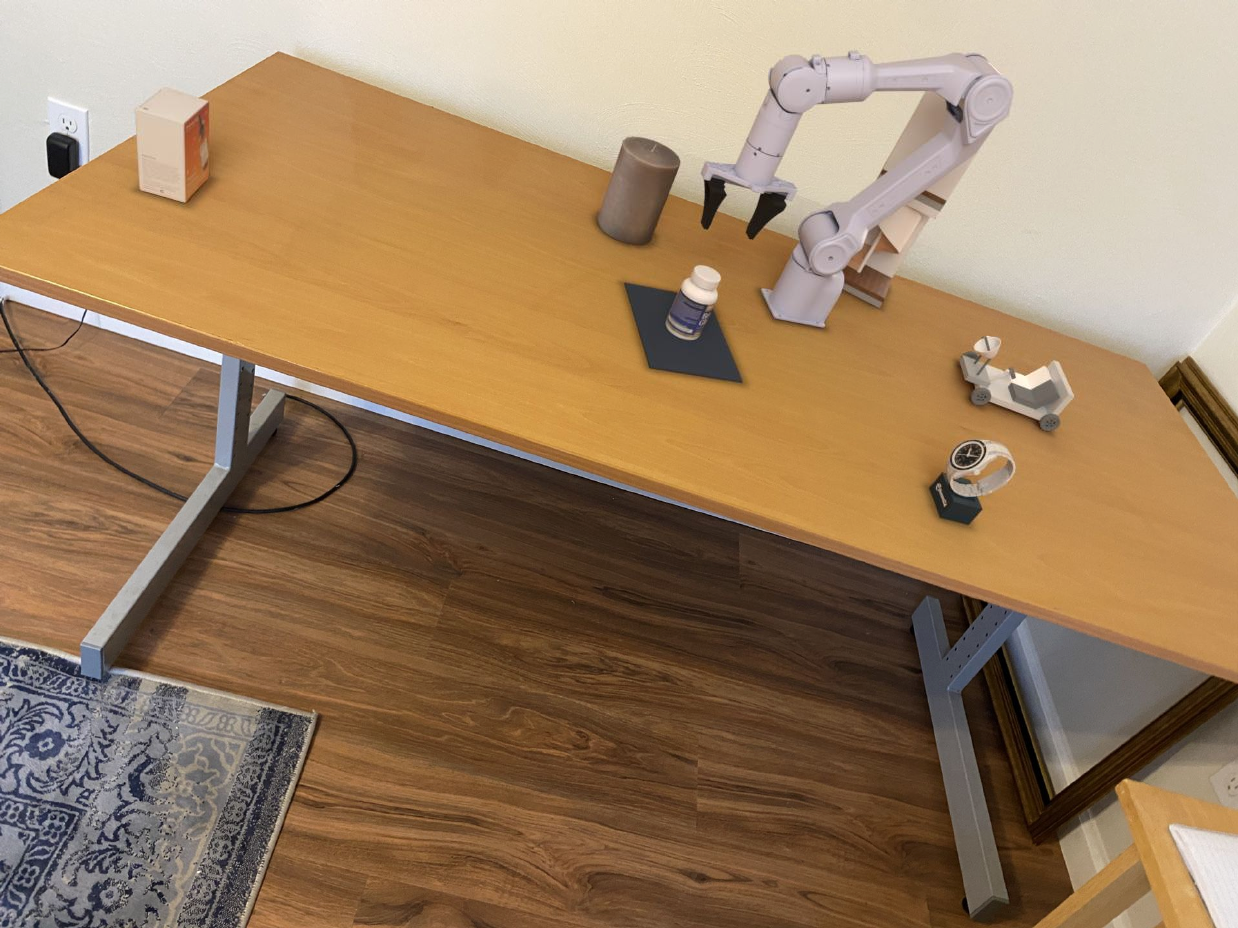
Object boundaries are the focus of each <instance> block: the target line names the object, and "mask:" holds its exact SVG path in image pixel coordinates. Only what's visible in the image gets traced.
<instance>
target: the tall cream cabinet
mask: <svg viewBox="0 0 1238 928" xmlns="http://www.w3.org/2000/svg"><path fill="white" fill-rule="evenodd" d="M945 112H946V102H945V99H944V98H942V97H941V96H939V95H938V94H937V93H935V92H933V91H924V93H923V95H922V97H921V99H920V100H919V102H918V104H917V106H916V108H915V110H914V111H913V113H912V115H911V116H910V117H909V120H908V122H907V123H906V125H905V127H904V129H903V131H902V132H901V134H900V136H899V137H898V139H897V141H896V143H895V145H894V147H893V149H892V150H891V152H890V154H889V156H888V157H887V159H886V161H885V163H884V164H883V167H882V168H881V170H880V172H879V174H878V175H877V177H876V179H875V180H874V182H875V181H876V180H877V179H879V178H880V177H881V176H883V175H884V174H885V173H887V172H888V171H889V170H891V169H892V168H893V167H895V166H896V165H897V164H899V163H900V162H901V161H903V160H904V159H905V158H907V157H908V156H909V155H910V154H912V153H913V152H914V151H916V150H917V149H918V148H920V147H921V146H922V145H924V144H925V143H926V142H928V141H929V140H930V139H932V138H933V137H934V136H936V135H937V134H938V133H940V132H941V131H942V127H943V122H944V117H945ZM979 151H980V149H979V150H978V152H977V153H975V154H974V155H973V156H972V157H970V158H969V159H968V160H966V161H965V162H964V163H962V164H961V165H959V166H958V167H957V168H955V169H954V170H953V171H951V172H950V173H948V174H947V175H946V176H944V177H943V178H941V179H940V180H939V181H937V182H936V183H935V184H933V185H932V186H930V187H929V188H928V189H926V190H925V191H924V192H922V193H921V194H919V195H918V196H917V197H915V198H914V199H912V200H911V201H910V202H908V203H907V204H906V205H904V206H903V207H901V208H900V209H899V210H897V211H896V212H895V213H893V214H892V215H890V216H889V217H888V218H886V219H885V220H883V221H882V222H881V223H879V224H878V225H877V226H875V227H874V228H872V229H871V230H870V231H868V233H867V236H866V239H865V241H864V244H863V247H862V249H861V250H860V251H859V252H857V253H856V254H855V255H854V256H853V257H852V258H851V259H850V261H849V263H848V264H847V266H846V267H845V268H844V269H843V270H842V271H843V274H844V285H843V289H842V291H845V292H847V293H849V294H851V295H853V296H854V297H856V298H859V299H861V300H863V301H864V302H867V303H869V304H871V305H873V306H874V307H876V308H878V309H879V308H880V307H881V306H882V305H883V303H884V301H885V300H886V297H887V294H888V292H889V288H890V285H891V284H892V283H891V282H892V279H893V278H894V276H895V275H896V273H897V271H898V270H899V268H900V266H901V265H902V263H903V262H904V260H905V258H906V257H907V255H908V253H909V252H910V250H911V249H912V247H913V246H914V244H915V242H916V241H917V239H918V237H919V236H920V234H921V233H922V232H923V229H924V228H925V227H926V225H927V224H928V222H929V220H930V219H931V218H932V219H934V220H936V219H937V217H939V216H938V215H939V214H940V212H941V211H942V210H943V208H944V206H945V205H946V203H947V201H948V200H949V199H950V197H951V195H952V194H953V192H954V191H955V189H956V187H957V186H958V184H959V183H960V181H961V179H962V178H963V176H964V174H965V173H966V171H967V170H968V168H969V167H970V165H971V163H972V162H973V161H974V159H975V157H976V156H977V154H978V153H979Z"/></svg>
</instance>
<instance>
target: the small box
mask: <svg viewBox="0 0 1238 928" xmlns="http://www.w3.org/2000/svg"><path fill="white" fill-rule="evenodd" d="M134 118H135V135H136V137H135V138H136V153H137V168H138V171H137V172H138V185H139V191H142V192H145V193H148V194H153V195H157V196H159V197H163V198H167V199H170V200H174V201H177V202H181V203H186V204H187V202H188V201H189V200H190V198H191V197H192V196H193V195H194V194H195V193H196V192H197V190H198V189H200V188H201V186H202V185H203V184H204V183H205V182H207V181H208V180H209V178H210V163H209V162H210V102H209V100H206V99H204V98H200V97H198V96H194V95H191V94H189V93H185V92H182V91H178V90H175V89H173V88H170V87H166V86H162V87H161V88H160V89H159V90H158V91H157V92H156V93H155V94H153V95H152V96H151V97H150V98H149V99H148V100H146V101H145V102H143V103H141V104H140V105H139V106H137V107H136V108H135V109H134Z"/></svg>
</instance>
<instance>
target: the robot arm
mask: <svg viewBox="0 0 1238 928" xmlns="http://www.w3.org/2000/svg"><path fill="white" fill-rule="evenodd" d="M767 80H768V85H769V88H768V89H767V93H766V95H765V97H764V99H763V101H762V104H761V106H760V107H759V110H758V111H757V114H756V116H755V119H754V121H753V123H752V126H751V128H750V130H749V133H748V135H747V137H746V139H745V141H744V144H743V146H742V149H741V150H740V153H739V156H738V158H737V160H736V162H735V163H726V162H725V163H724V162H714V161H709V160H705V161H704V163H703V166H702V167H701V171H700V175H701V177H702V179H703V187H704V189H703V191H704V194H703V195H704V196H703V197H704V198H703V208H702V215H701V219H700V224H701V227H702V228H703V229H704V230H706V231H709V229H710V227H711V225H712V223H713V221H714V218H715V216H716V213H717V211H718V209H719V208H720V206H721V204H722V203H723V202H724V200H726V197H727V196H728V194H727V193H726V191H725V189H726V185H725V184H729V185H731V186H737V187H741V188H745V189H749V190H750V191H751V192H754V193H756V194H759V197H758V201H757V203H756V207H755V209H754V212H753V214H752V216H751V218H750V220H749V222H748V224H747V227H746V230H745V234H746V236H747V238H748V240H751V241H753V240H754V239H755V238H756V236H757V235H759V233H760V232H761V231H762V229H764V227H765V226H766V225H767V224H768V223H769V222H770V221H772V220H773V219H774V218H775V217H777V216H778V215H780V214H782V213H783V212H784V211H785V210H786V208H787V206H788V204H787V202H786V201H789V202H792V201H793V200H794V198H795V196H796V194H797V192H798V188H797V186H796V185H795V184H794V183H793V182H790V181H787V180H784V179H781V178H779V177H778V176H777V177H776V176H775V174H776V172H777V170H778V168H779V167H780V164H781V162H782V160H783V157H784V156H785V153H786V151H787V149H788V147H789V145H790V142H791V140H792V138H793V136H794V134H795V132H796V130H797V128H798V126H799V123H800V120H801V119H802V116H803V114H804V113H806V112H808V111H809V110H811V109H812V108H814V106H817V105H833V104H849V103H863V102H864V101H866V100H867V99H868V98H869V97H870V96H871V95H873V93H874V92H925V91H933V92H935V93H937V94H938V95H939V96H941V97H942V98H944V99H945V102H946V112H945V117H944V122H943V127H942V131H941V132H940V133H938V134H937V135H936V136H934V137H933V138H932V139H930V140H929V141H928V142H926V143H925V144H924V145H922V146H921V147H920V148H918V149H917V150H916V151H914V152H913V153H912V154H910V155H909V156H908V157H907V158H905V159H904V160H903V161H901V162H900V163H899V164H897V165H896V166H895V167H893V168H892V169H891V170H889V171H888V172H887V173H885V174H884V175H883V176H881V177H880V178H879V179H877V178H876V179H877V180H876V179H875V180H876V181H875V180H874V181H873V182H872V183H871V184H869V185H868V186H866V187H865V188H864V189H862V190H861V191H860V192H859V193H857V194H856V195H854V196H853V197H852V198H851V199H849V200H848V201H837V202H832V203H830V204H829V205H827V207H824V208H823V209H820V210H815V211H812V212H811V213H809V214H807V215H805V216H804V217H803V218H802V220H801V221H800V223H799V225H798V229H797V237H798V240H799V241H798V242H797V244H796V246H795V247H794V249H793V251H792V252H791V254H790V256H789V258H788V260H787V262H786V264H785V265H784V268H783V270H782V272H781V273H780V276H779V277H778V279H777V281H776V283H775V285H774V287H773V289H768V288H761V289H760V293H761V295H762V296H763V299H764V301H765V303H766V305H767V306H768V309H769V311H770V313H771V315H772V317H773V318H774V319H775V320H781V321H785V322H790V323H791V322H792V323H797V324H801V325H806V326H812V327H817V328H822V329H824V328H825V327H826V324H825V322H826V320H827V318H828V316H829V315H830V313H831V311H832V310H833V308H834V307H835V304H836V303H837V301H838V300H839V298H840V296H841V294H842V292H843V285H844V274H843V271H842V270H843V269H844V268H845V267H846V266H847V264H848V263H849V261H850V259H851V258H852V257H853V256H854V255H855V254H856V253H857V252H859V251H860V250H861V249H862V247H863V244H864V241H865V239H866V236H867V233H868V231H870V230H871V229H872V228H874V227H875V226H877V225H878V224H879V223H881V222H882V221H883V220H885V219H886V218H888V217H889V216H890V215H892V214H893V213H895V212H896V211H897V210H899V209H900V208H901V207H903V206H904V205H906V204H907V203H908V202H910V201H911V200H912V199H914V198H915V197H917V196H918V195H919V194H921V193H922V192H924V191H925V190H926V189H928V188H929V187H930V186H932V185H933V184H935V183H936V182H937V181H939V180H940V179H941V178H943V177H944V176H946V175H947V174H948V173H950V172H951V171H953V170H954V169H955V168H957V167H958V166H959V165H961V164H962V163H964V162H965V161H966V160H968V159H969V158H970V157H972V156H973V155H974V154H975V153H977V152H978V153H979V151H980V149H981V148H982V146H983V145H984V143H985V141H987V139H988V137H989V136H990V135H991V134H992V132H993V131H994V129H995V128H996V126H998V125H999V124H1001V123H1002V122H1003V121H1005V120H1006V119H1008V118H1009V117H1010V112H1011V107H1012V105H1013V104H1012V103H1013V98H1014V86H1013V83H1012V81H1011V80H1010V79H1009V78H1008V77H1007V76H1005V75H1003V74H1001V72H999V71H998V70H997V69H996V68H995V67H994V66H993V64H991V62H990V61H989V60H988V58H987V57H986V56H985V55H983V54H981V53H978V52H968V53H965V54H964V53H961V52H951V53H948V54H945V55H939V56H932V57H923V58H914V59H907V60H898V61H889V62H880V63H874V62H873V60H871V58H870V57H869V56H867V54H861V53H860V52H859V50H848V52H847V55H840V56H824V57H822V56H821V55H820V54H819V53H818V54H817V53H816V54H812V55H811V58H810V59H809V60H808V59H807V58H806V57H803V55H801V54H788V55H786V56H783V58H781V59H779V60H778V61H777V62H776V63H775V65H774V66H772V67H770V68H769V71H768V75H767ZM978 150H979V151H978ZM978 153H977V154H978Z"/></svg>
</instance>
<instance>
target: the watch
mask: <svg viewBox="0 0 1238 928" xmlns="http://www.w3.org/2000/svg"><path fill="white" fill-rule="evenodd" d="M998 456H999V457H1003V458H1006V459H1007V460H1006V464H1005V465H1004V466H1003V467H1001V469H997V470H995V471H993V472H992V473H990V474H989V475H987V476H985V477H983V478H980V479H978V480H976V483H973V482H972V480H971V479H969V478H965V476H973V475H974V476H979V475H980V474H981V472H982V471H983V470H984V469H985V468H986V467H987V466H988V464H990V463H991V462H993V461H995V460H997V459H998ZM1016 466H1017V465H1016V462H1015V460H1014V458H1013V455H1012V454H1011V452H1010V450H1009V448H1008V447H1007V446H1006V445H1004V444H1002V443H1001V442H998V441H993V440H989V439H978V438H971V439H967V440H965V441H962V442H960V443H959V444H957V445H956V446H955V447H954V448H953V449H952V451H951V452H950V455H949V457H948V459H947V460H946V465H945V471H944V472H942V471H941V473H940V474H939V475H938V476H937V478H936V479H935V480H934V481H933V482H932V484H931V485H930V486H929V487H928V488H929V491H930V494H931V497H932V500H933V502H934V505H935V508H936V511H937V513H938V516H939V518H940V519H944V520H948V521H952V522H956V523H959V524H963V525H966V526H969V525H971V523H972V522H973V521H974V520H975V519H976V518H977V516H978V515H980V513H981V512H982V511H983V509H984V508H983V506H982V503H981V501H980V499H979V497H980V496H981V497H984V496H987V495H989V494H992V493H994V492H996V491H997V490H999V489H1001V488H1003V487H1005V486H1006V485H1007V484H1008V483H1010V482H1009V481H1010V480H1011V479H1012V478H1013V477H1014V474H1015V473H1016V468H1017V467H1016Z"/></svg>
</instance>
